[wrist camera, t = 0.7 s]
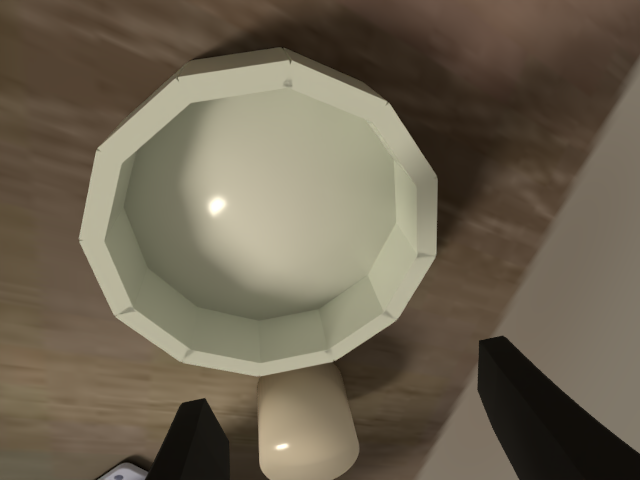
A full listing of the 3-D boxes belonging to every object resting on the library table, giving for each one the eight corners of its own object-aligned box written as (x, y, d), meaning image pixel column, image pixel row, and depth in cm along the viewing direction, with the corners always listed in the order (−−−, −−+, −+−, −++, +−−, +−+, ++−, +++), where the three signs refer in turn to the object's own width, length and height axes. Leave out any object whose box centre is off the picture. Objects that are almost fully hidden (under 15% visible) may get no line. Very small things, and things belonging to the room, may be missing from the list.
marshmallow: (293, 426, 27) (301, 498, 23) (238, 387, 25) (238, 460, 21) (358, 385, 26) (378, 453, 22) (307, 339, 24) (320, 407, 20)
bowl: (253, 360, 24) (255, 413, 21) (40, 194, 18) (-1, 236, 15) (456, 220, 21) (490, 258, 18) (289, -30, 15) (299, -34, 12)
